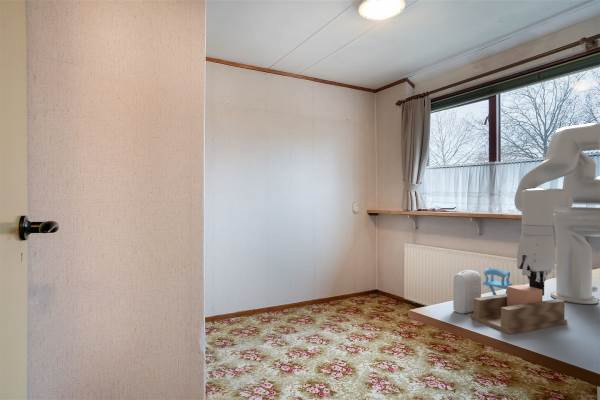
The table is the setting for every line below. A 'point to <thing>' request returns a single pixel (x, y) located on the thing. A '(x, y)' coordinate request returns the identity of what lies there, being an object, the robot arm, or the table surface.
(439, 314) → the table surface
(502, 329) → the chute
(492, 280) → the chair
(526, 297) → the block
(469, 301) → the photo printer
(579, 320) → the table surface
